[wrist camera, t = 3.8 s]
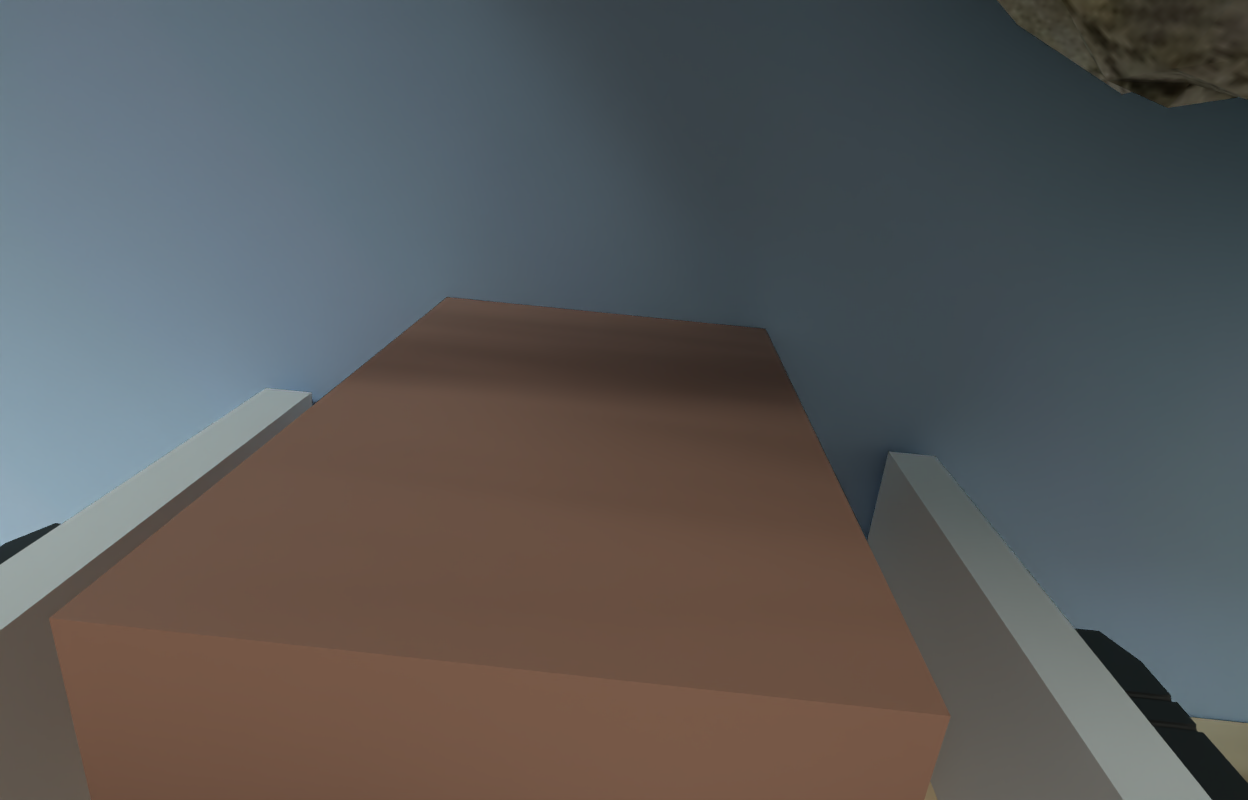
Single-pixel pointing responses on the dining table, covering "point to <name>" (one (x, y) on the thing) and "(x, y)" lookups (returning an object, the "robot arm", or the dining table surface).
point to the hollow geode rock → (1148, 44)
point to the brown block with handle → (513, 590)
